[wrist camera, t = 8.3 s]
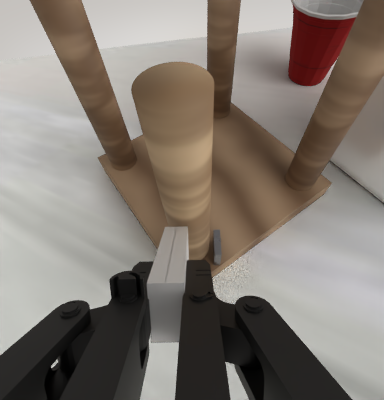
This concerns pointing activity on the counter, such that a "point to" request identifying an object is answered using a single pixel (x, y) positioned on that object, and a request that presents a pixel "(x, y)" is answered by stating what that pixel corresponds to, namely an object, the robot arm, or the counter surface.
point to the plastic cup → (319, 37)
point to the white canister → (365, 146)
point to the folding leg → (180, 144)
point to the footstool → (224, 127)
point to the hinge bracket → (216, 247)
